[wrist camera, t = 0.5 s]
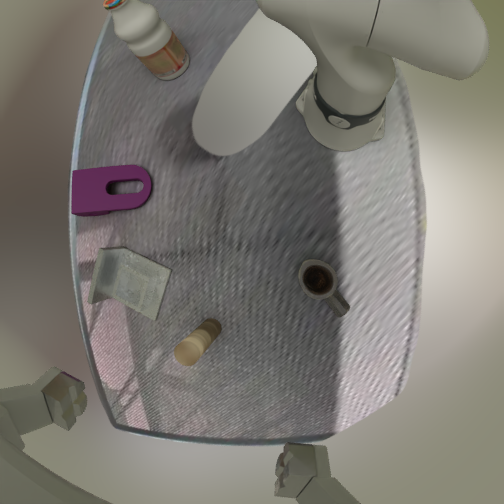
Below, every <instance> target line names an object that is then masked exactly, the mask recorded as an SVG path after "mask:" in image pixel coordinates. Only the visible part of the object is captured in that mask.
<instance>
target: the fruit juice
mask: <svg viewBox="0 0 504 504" xmlns="http://www.w3.org/2000/svg"><path fill="white" fill-rule="evenodd" d="M103 5H104V7H105V8H106V9H107V10H108V11H111V14H112V18H113V21H114V31H115V34H116V35H117V36H118V38H119V39H121V40H123V41H125V42H126V43H127V46H128V48H129V49H130V50H131V52H132V53H133V54H134V55H135V56H136V57H137V58H138V59H139V60H140V61H141V62H142V63H143V64H144V65H145V66H146V67H147V68H148V69H149V70H150V71H151V72H152V73H153V74H154V75H155V76H156V77H157V78H159V79H161V80H171V79H174V78H177V77H178V76H180V75H181V74H183V73H184V72H185V70H186V69H187V67H188V65H189V55H188V53H187V52H186V50H185V49H184V47H183V46H182V44H181V43H180V41H179V40H178V38H177V37H176V35H175V34H174V33H173V31H172V30H171V28H170V26H169V25H168V24H167V23H166V22H165V21H164V20H163V19H161V18H160V16H159V13H158V11H157V9H156V8H155V7H154V6H152V5H150V4H147V3H143V2H141V1H138V0H105V1H104V4H103Z"/></svg>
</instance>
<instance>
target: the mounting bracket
mask: <svg viewBox="0 0 504 504" xmlns="http://www.w3.org/2000/svg"><path fill="white" fill-rule="evenodd" d="M137 180H138V181H141V182H142V183H143V184H144V187H143V189H142V191H141V192H139V193H131V194H118V195H109V194H108V192H107V188H108V186H109V185H110V184H111V183H113V182H124V181H137ZM150 193H151V180H150V177H149V175H148V173H147V172H146V171H145V170H144V169H143V168H141V167H139V166H137V165H121V166H110V167H100V168H91V169H82V170H74V171H73V173H72V214H74V215H77V216H100V215H106V214H109V211H119V210H131V209H136V208H138V207H140V206H142V205H143V204H144V203H145V202H146V201H147V200H148V198H149V196H150Z"/></svg>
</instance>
